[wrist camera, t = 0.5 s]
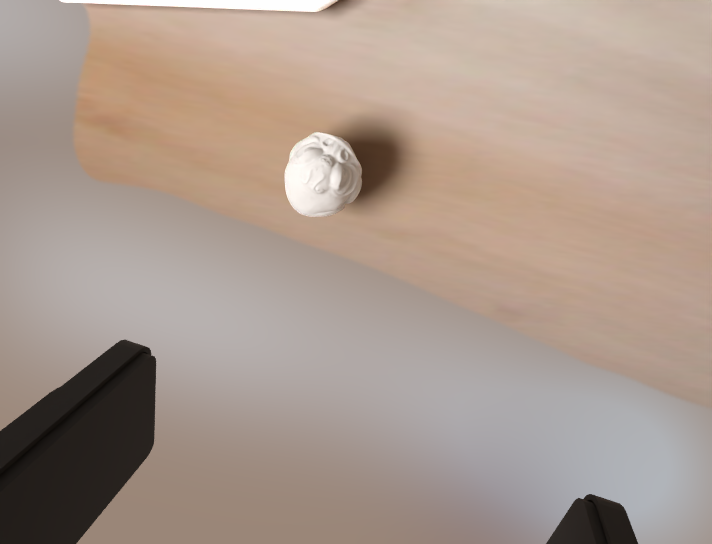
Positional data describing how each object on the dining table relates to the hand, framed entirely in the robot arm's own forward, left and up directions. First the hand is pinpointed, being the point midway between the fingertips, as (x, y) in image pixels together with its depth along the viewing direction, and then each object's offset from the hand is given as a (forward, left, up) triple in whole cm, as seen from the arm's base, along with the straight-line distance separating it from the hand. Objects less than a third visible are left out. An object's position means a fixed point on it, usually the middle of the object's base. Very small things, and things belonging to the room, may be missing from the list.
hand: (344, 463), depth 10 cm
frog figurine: (+1, -8, -30) cm, 31 cm away
